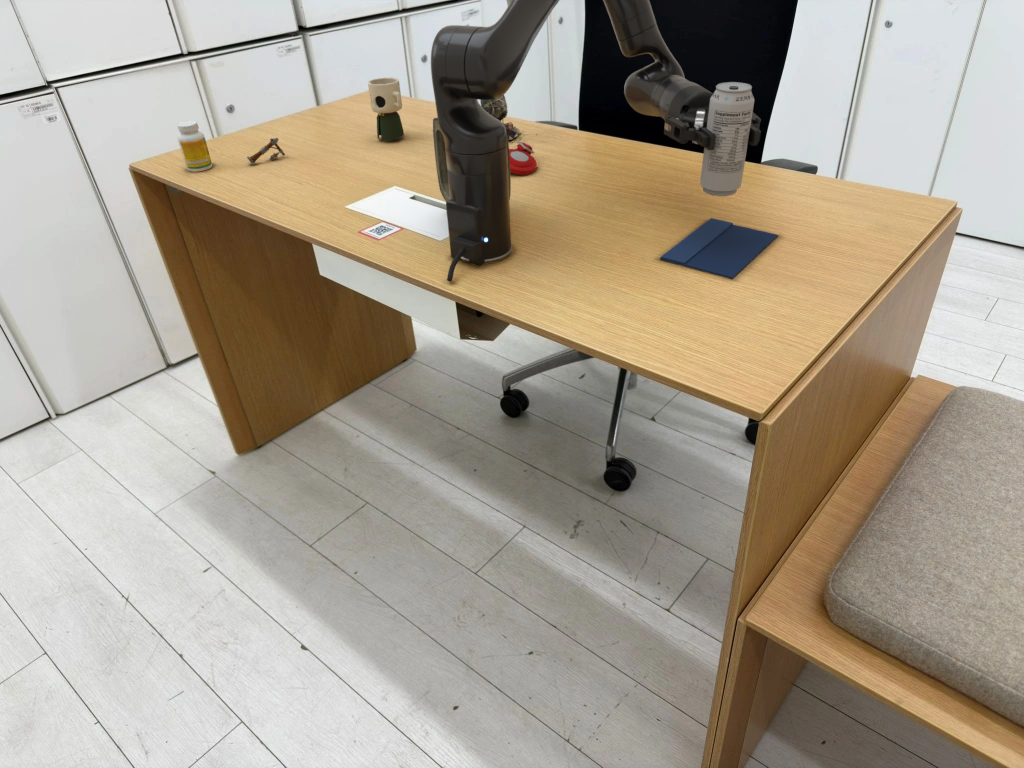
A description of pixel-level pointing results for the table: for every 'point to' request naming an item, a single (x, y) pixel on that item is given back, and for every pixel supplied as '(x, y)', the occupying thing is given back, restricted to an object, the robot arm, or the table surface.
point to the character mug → (386, 107)
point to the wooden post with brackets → (264, 150)
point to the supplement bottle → (193, 147)
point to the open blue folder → (719, 248)
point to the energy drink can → (727, 138)
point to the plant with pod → (500, 114)
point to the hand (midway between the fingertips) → (734, 140)
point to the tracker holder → (522, 159)
